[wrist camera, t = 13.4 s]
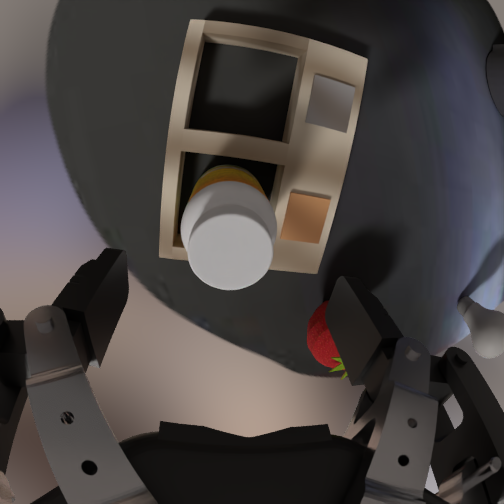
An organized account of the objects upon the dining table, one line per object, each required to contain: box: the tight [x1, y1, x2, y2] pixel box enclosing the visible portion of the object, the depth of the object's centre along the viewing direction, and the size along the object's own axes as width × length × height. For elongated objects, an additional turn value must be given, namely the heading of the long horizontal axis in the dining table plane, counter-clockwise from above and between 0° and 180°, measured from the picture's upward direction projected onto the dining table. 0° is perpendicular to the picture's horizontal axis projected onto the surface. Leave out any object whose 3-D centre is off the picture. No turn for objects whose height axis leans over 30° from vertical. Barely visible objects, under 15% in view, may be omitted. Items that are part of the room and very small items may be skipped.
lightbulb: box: [457, 296, 504, 358], centre depth 25 cm, size 6×6×11 cm
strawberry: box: [307, 301, 347, 380], centre depth 22 cm, size 6×8×10 cm
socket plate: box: [159, 19, 368, 274], centre depth 18 cm, size 18×12×3 cm
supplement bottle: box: [181, 165, 277, 290], centre depth 17 cm, size 5×5×10 cm
